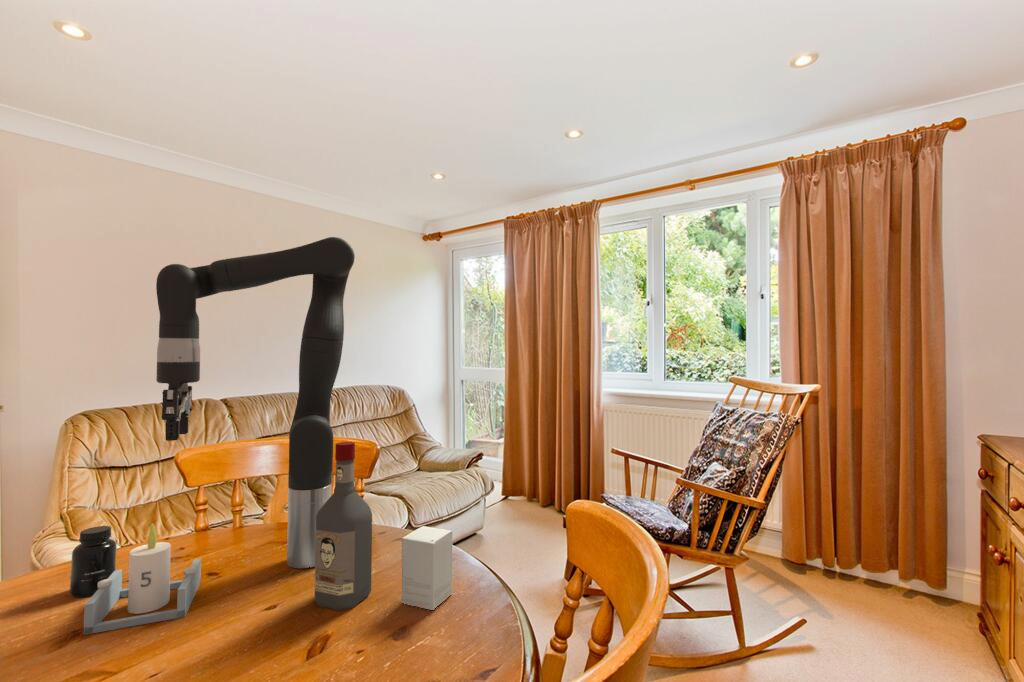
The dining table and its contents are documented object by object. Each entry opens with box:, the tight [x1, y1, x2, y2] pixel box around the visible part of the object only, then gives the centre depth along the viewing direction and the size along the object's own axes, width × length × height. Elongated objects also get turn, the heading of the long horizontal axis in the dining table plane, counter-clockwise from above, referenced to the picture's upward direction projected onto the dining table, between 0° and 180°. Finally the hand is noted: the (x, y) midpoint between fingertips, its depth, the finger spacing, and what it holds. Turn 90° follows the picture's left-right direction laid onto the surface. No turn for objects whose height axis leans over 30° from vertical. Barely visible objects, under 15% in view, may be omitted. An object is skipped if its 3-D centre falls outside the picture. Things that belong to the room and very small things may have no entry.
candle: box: [127, 523, 172, 615], centre depth 91 cm, size 6×6×15 cm
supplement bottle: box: [69, 525, 118, 598], centre depth 96 cm, size 7×7×12 cm
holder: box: [83, 558, 202, 636], centre depth 90 cm, size 15×14×6 cm
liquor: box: [314, 441, 373, 611], centre depth 94 cm, size 9×9×30 cm
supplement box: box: [401, 525, 454, 610], centre depth 93 cm, size 7×7×13 cm
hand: (177, 437), depth 101 cm, fingers open, 8 cm apart
